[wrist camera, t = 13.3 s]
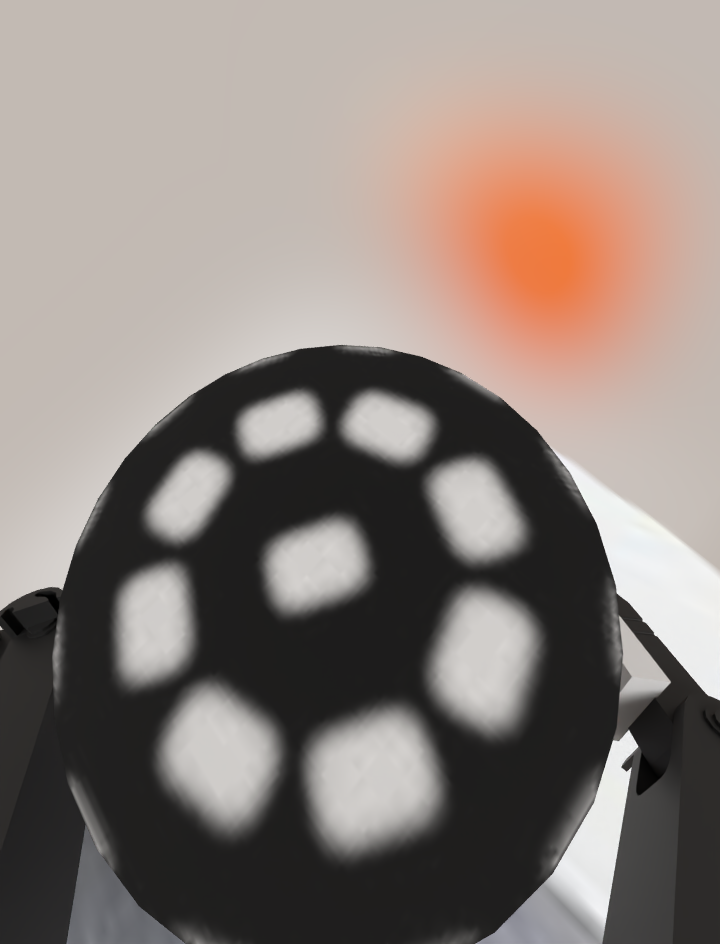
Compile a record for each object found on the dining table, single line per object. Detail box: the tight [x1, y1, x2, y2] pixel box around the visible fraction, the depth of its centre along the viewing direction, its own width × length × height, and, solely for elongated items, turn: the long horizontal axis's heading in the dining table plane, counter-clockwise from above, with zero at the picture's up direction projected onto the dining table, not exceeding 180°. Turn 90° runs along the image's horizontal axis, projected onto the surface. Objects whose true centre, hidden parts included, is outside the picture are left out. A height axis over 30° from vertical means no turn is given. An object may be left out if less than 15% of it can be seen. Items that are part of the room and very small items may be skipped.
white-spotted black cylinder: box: [52, 345, 623, 944], centre depth 14 cm, size 8×8×20 cm
